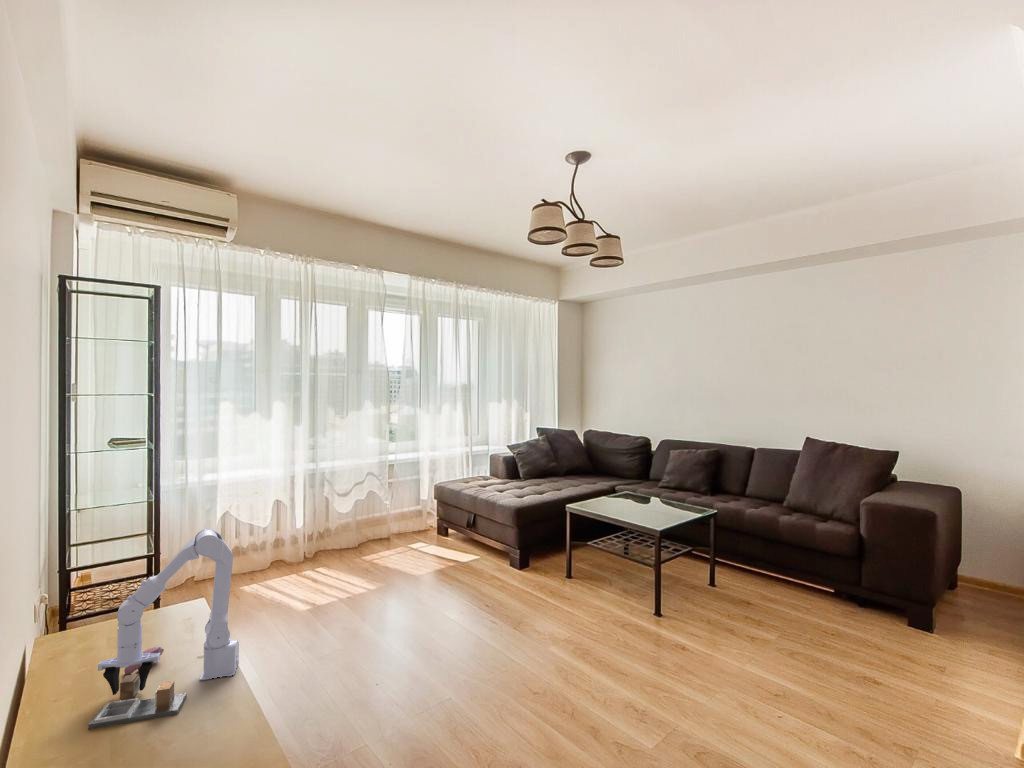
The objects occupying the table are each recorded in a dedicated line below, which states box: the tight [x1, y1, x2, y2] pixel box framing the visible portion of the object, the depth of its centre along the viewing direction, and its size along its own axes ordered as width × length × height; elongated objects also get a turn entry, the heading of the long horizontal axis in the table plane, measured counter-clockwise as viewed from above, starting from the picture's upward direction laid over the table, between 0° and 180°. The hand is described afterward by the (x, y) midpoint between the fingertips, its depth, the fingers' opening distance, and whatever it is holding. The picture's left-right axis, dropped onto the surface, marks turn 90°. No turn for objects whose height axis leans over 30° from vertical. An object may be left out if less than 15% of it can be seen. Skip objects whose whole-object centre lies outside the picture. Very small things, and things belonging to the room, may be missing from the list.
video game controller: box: [124, 645, 165, 675], centre depth 160 cm, size 10×5×7 cm, turn 169°
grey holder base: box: [87, 680, 188, 730], centre depth 137 cm, size 20×8×6 cm, turn 108°
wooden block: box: [119, 673, 140, 701], centre depth 145 cm, size 3×4×5 cm
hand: (129, 690), depth 145 cm, fingers open, 6 cm apart
